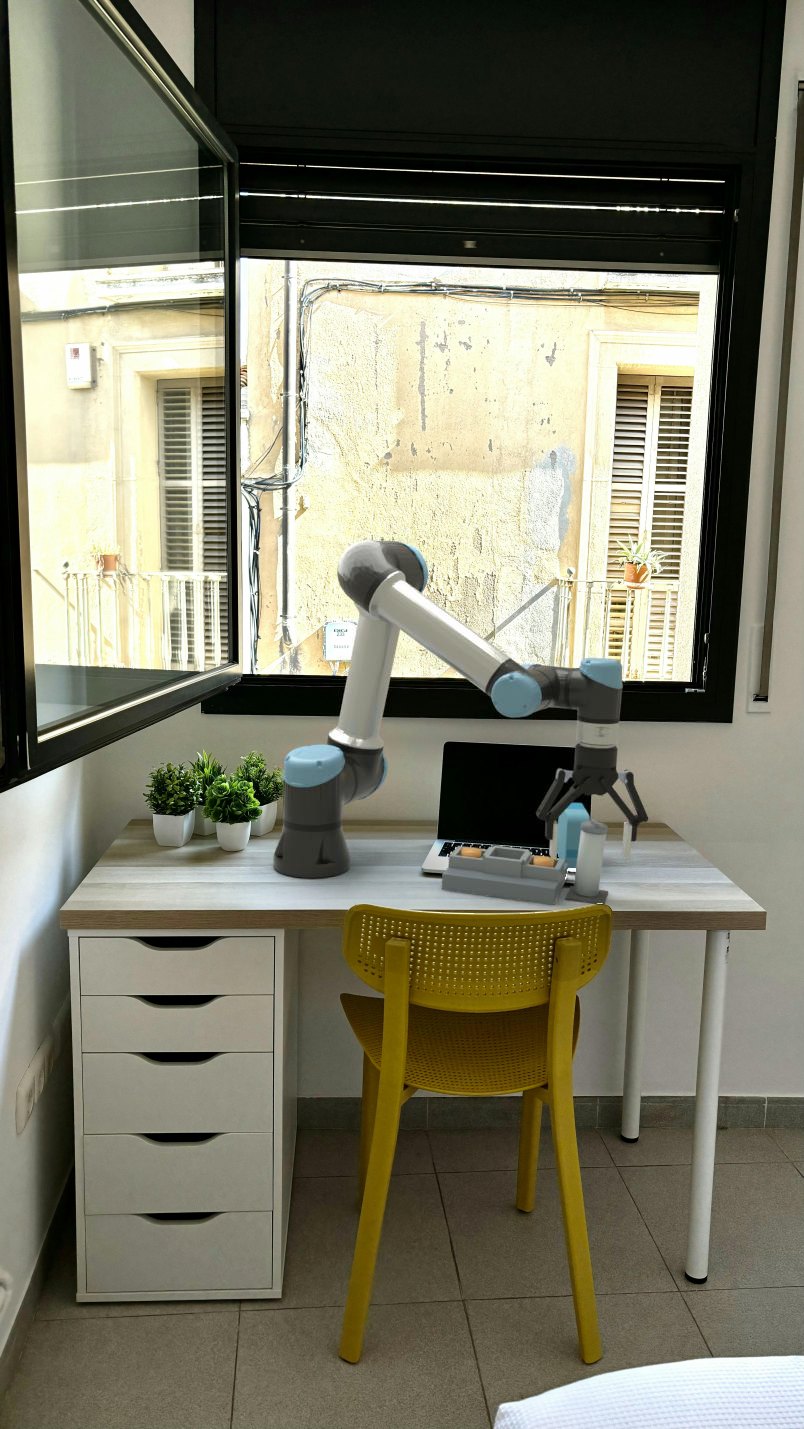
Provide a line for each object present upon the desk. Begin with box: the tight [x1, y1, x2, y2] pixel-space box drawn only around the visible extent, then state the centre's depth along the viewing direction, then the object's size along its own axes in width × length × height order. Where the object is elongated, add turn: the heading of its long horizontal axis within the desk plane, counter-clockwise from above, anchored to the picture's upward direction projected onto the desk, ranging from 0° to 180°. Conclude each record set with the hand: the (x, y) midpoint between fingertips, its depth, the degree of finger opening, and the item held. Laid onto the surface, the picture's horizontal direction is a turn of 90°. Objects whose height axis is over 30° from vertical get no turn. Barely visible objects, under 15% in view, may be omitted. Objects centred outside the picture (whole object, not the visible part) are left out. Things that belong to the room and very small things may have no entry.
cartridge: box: [573, 818, 608, 897], centre depth 182 cm, size 5×5×14 cm
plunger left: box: [461, 846, 481, 858], centre depth 189 cm, size 4×4×2 cm
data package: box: [556, 802, 591, 868], centre depth 200 cm, size 12×4×12 cm, turn 178°
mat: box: [564, 885, 609, 905], centre depth 182 cm, size 7×7×1 cm
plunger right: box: [533, 855, 554, 868], centre depth 185 cm, size 4×4×2 cm
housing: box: [441, 845, 568, 906], centre depth 187 cm, size 21×16×6 cm
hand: (589, 857), depth 181 cm, fingers open, 13 cm apart
